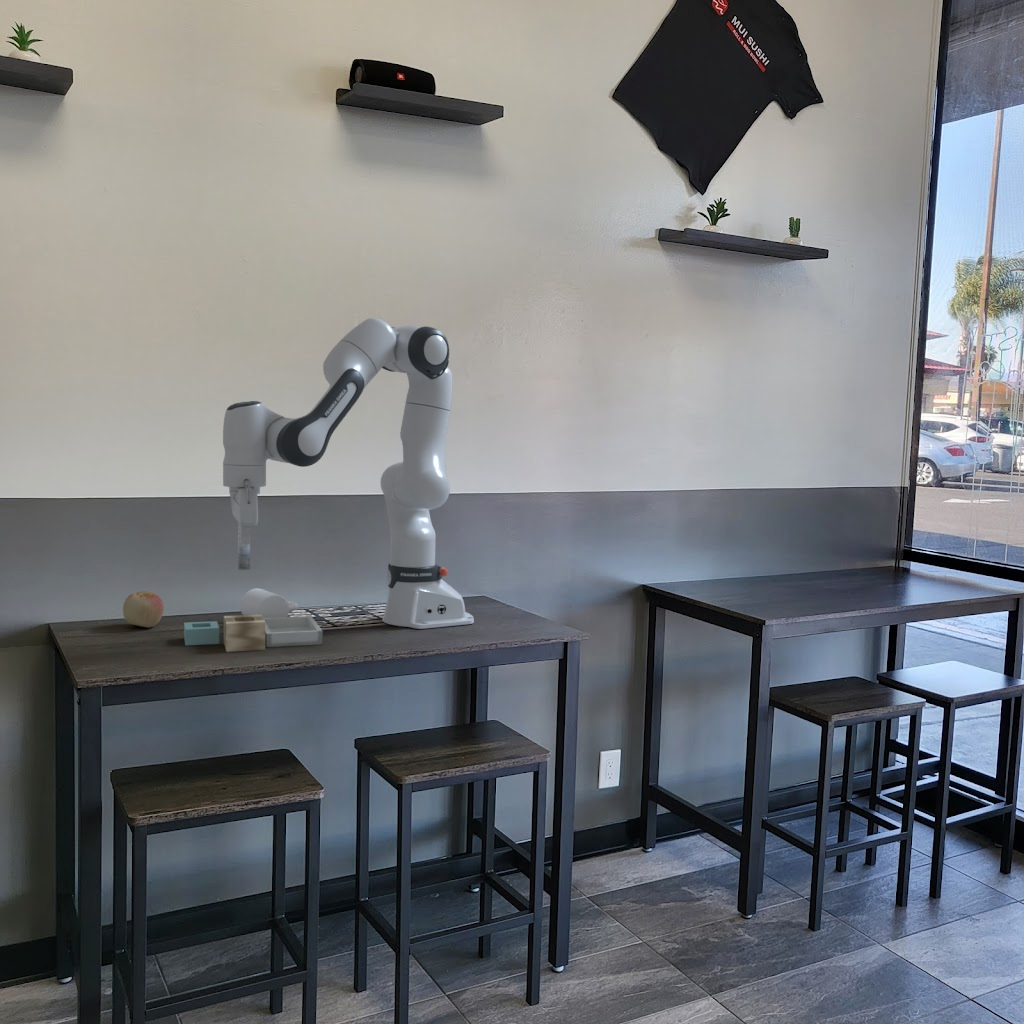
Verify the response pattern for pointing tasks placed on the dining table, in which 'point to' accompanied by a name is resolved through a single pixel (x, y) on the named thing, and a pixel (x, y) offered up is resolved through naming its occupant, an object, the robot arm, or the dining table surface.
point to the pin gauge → (243, 552)
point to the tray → (292, 631)
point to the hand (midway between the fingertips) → (244, 542)
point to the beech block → (244, 633)
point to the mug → (266, 604)
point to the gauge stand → (201, 633)
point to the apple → (143, 609)
